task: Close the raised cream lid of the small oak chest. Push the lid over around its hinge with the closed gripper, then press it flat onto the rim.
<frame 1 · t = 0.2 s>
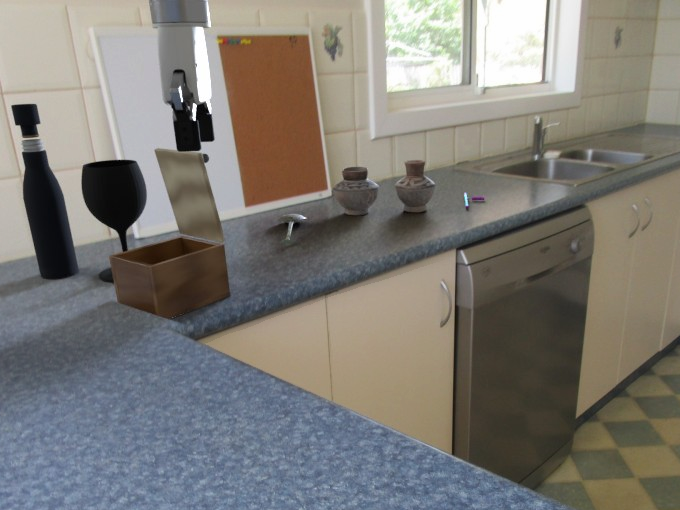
hand: (197, 146, 95), 25 cm above the countertop, tool pointing down, fingers open, 9 cm apart
wine glass: (129, 274, 122), on the countertop
squeegee: (474, 202, 171), on the countertop
black water bottle: (60, 274, 122), on the countertop
chest: (175, 302, 107), on the countertop
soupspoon: (290, 234, 146), on the countertop
pottery: (384, 212, 163), on the countertop
chest lid: (198, 191, 106), point 17 cm above the countertop, hinge at 80.0°
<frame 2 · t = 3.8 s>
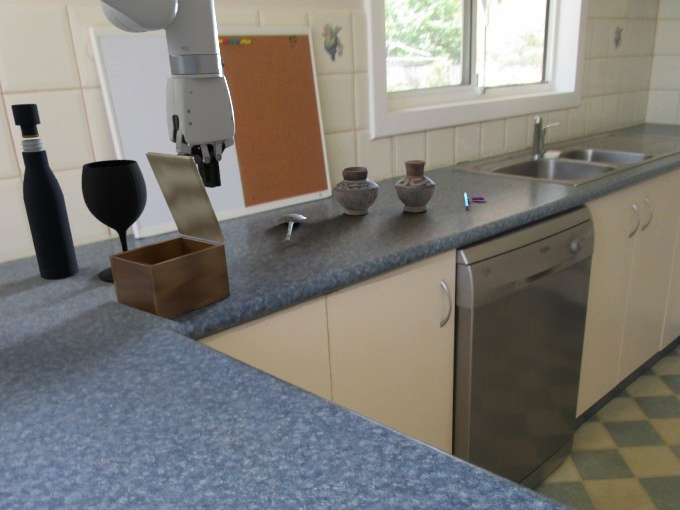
hand: (211, 186, 108), 17 cm above the countertop, tool pointing down, fingers closed
chest lid: (193, 192, 106), point 17 cm above the countertop, hinge at 73.1°, touching gripper
everything else where it was.
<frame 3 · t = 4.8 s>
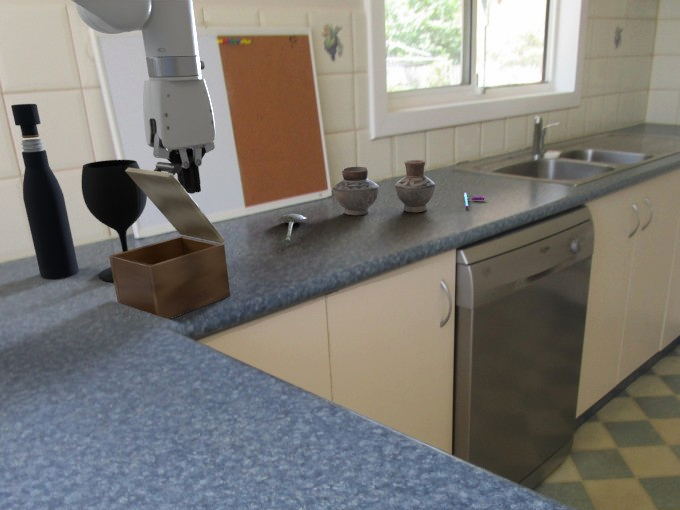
hand: (190, 191, 105), 17 cm above the countertop, tool pointing down, fingers closed
chest lid: (182, 198, 104), point 16 cm above the countertop, hinge at 55.6°, touching gripper
everything else where it was.
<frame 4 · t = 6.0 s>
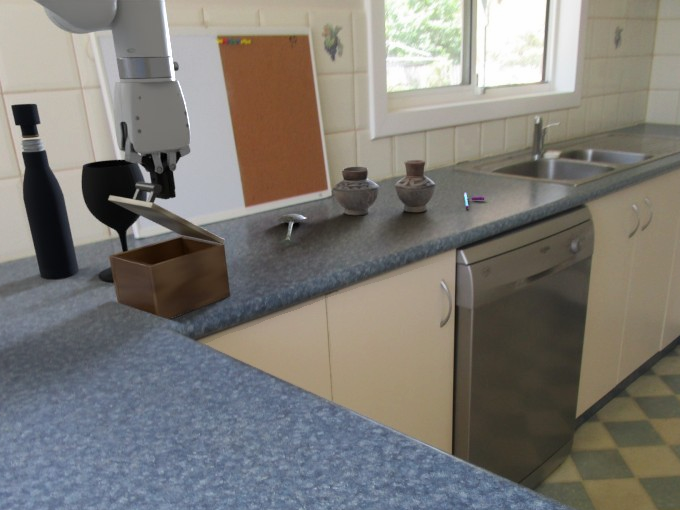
hand: (165, 197, 102), 17 cm above the countertop, tool pointing down, fingers closed
chest lid: (172, 210, 103), point 15 cm above the countertop, hinge at 34.8°
everything else where it was.
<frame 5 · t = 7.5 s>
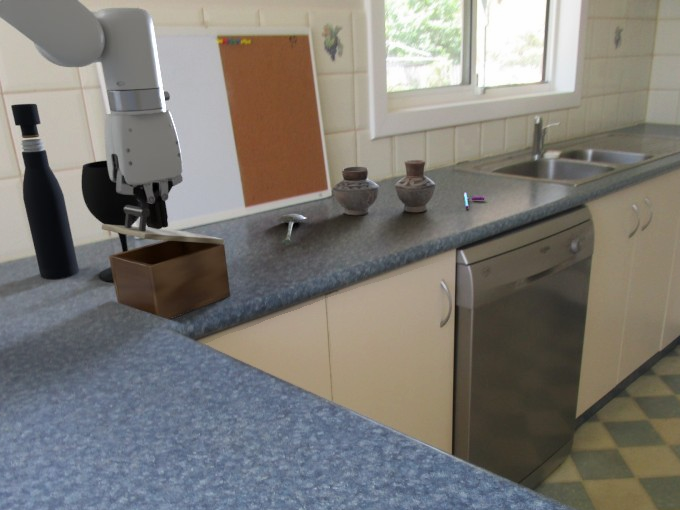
hand: (157, 226, 101), 13 cm above the countertop, tool pointing down, fingers closed
chest lid: (165, 223, 103), point 13 cm above the countertop, hinge at 16.9°
everything else where it was.
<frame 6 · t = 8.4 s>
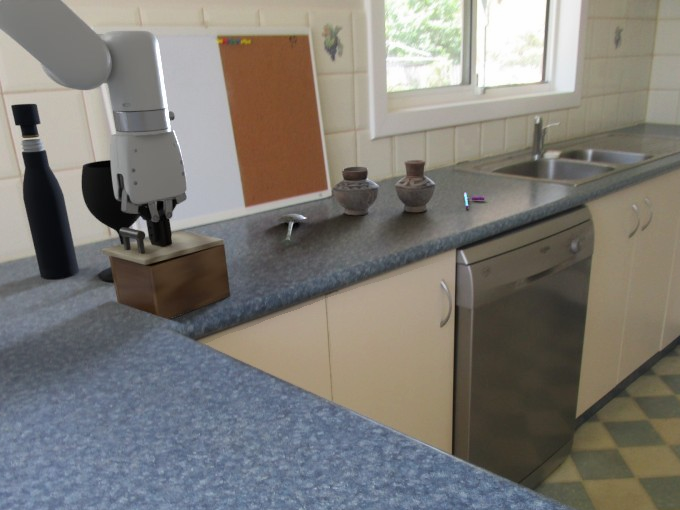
hand: (161, 244, 103), 10 cm above the countertop, tool pointing down, fingers closed
chest lid: (163, 235, 103), point 11 cm above the countertop, hinge at 1.8°, touching gripper
everything else where it was.
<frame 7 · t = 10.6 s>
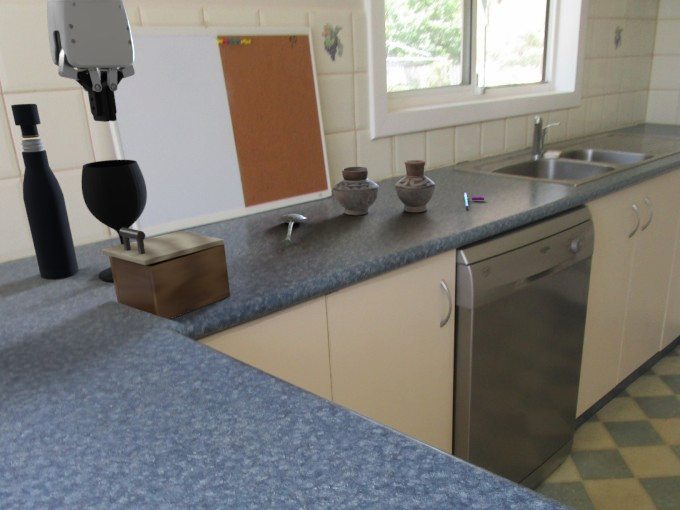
hand: (105, 120, 94), 29 cm above the countertop, tool pointing down, fingers closed
chest lid: (163, 236, 103), point 11 cm above the countertop, hinge at 1.7°
everything else where it was.
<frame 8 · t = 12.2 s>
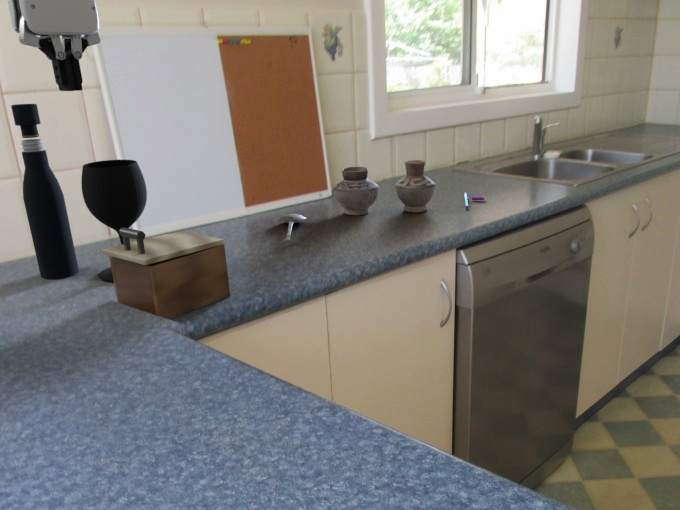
hand: (70, 90, 92), 33 cm above the countertop, tool pointing down, fingers closed
nothing on the countertop moved.
at the end: chest lid at +2° (first picture: +80°) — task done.
